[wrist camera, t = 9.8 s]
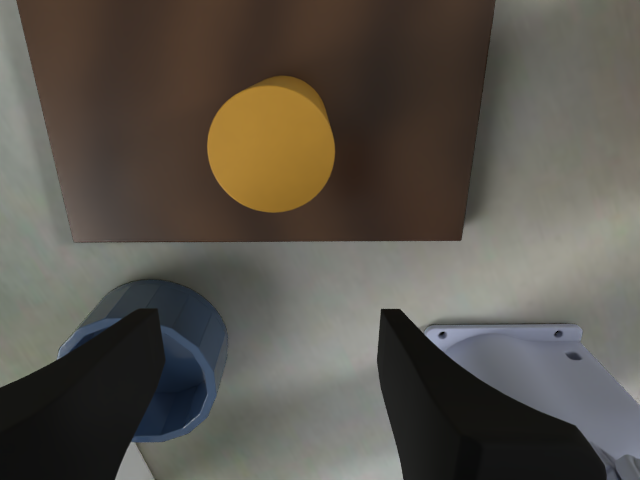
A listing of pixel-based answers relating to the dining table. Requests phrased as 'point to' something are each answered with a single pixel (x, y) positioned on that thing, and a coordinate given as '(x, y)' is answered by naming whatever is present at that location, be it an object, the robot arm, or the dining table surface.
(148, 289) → the cup
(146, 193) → the board
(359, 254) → the dining table surface
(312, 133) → the peg
